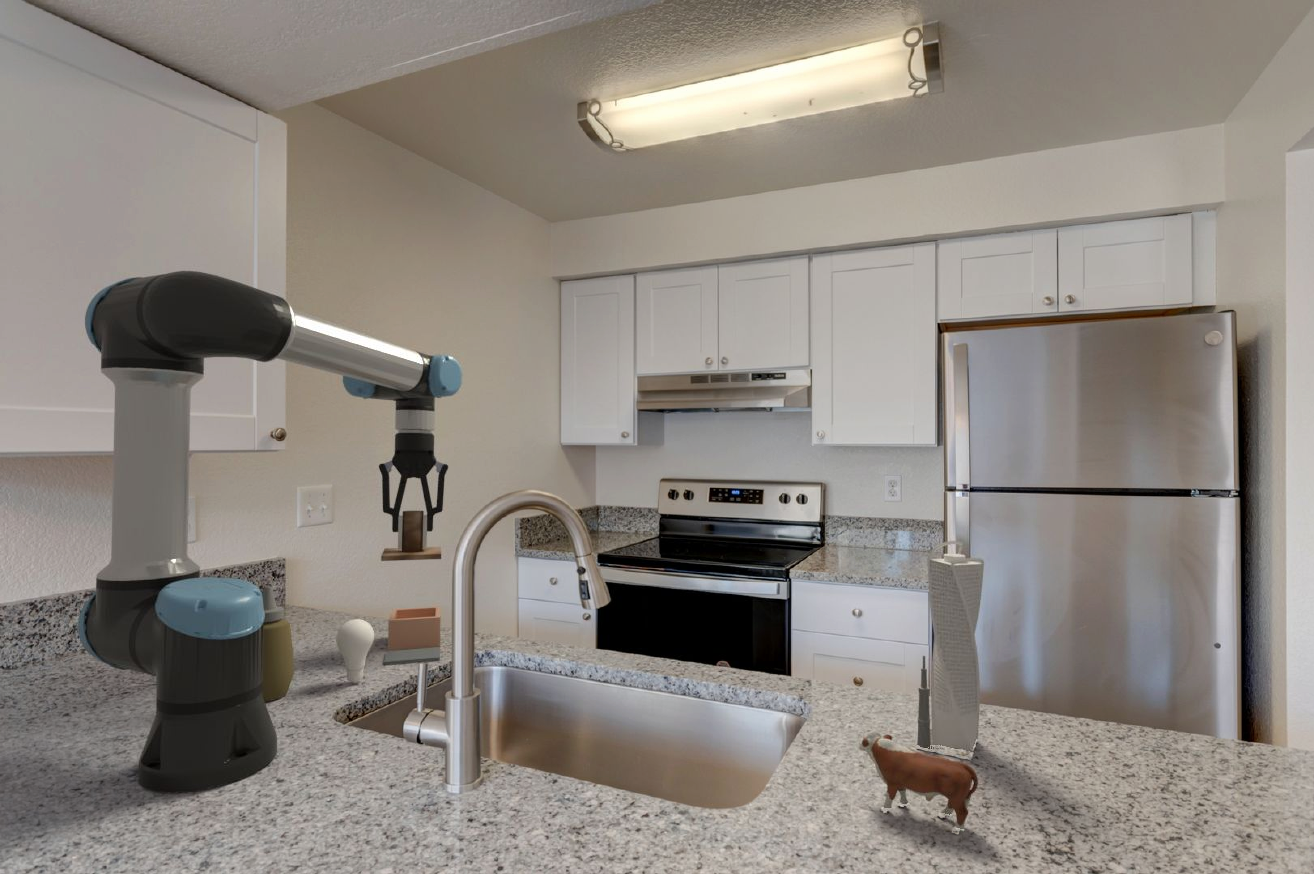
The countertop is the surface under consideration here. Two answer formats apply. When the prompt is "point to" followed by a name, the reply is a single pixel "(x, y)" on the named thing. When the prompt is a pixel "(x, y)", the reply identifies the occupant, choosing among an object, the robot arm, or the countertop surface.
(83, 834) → the countertop surface
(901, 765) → the bull figurine
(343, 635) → the lightbulb
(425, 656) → the mat
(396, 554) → the lid
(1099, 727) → the countertop surface
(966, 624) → the skyscraper
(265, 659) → the squeeze bottle
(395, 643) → the pink open box
